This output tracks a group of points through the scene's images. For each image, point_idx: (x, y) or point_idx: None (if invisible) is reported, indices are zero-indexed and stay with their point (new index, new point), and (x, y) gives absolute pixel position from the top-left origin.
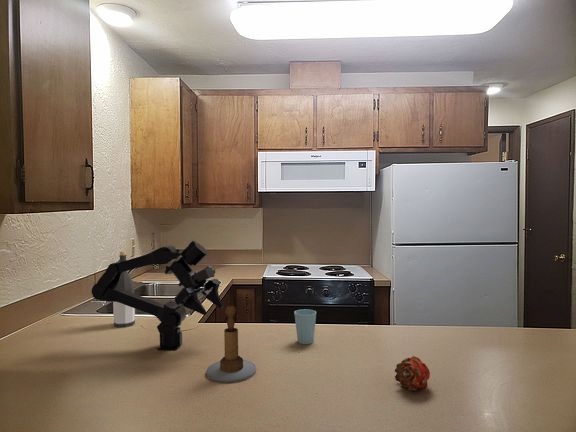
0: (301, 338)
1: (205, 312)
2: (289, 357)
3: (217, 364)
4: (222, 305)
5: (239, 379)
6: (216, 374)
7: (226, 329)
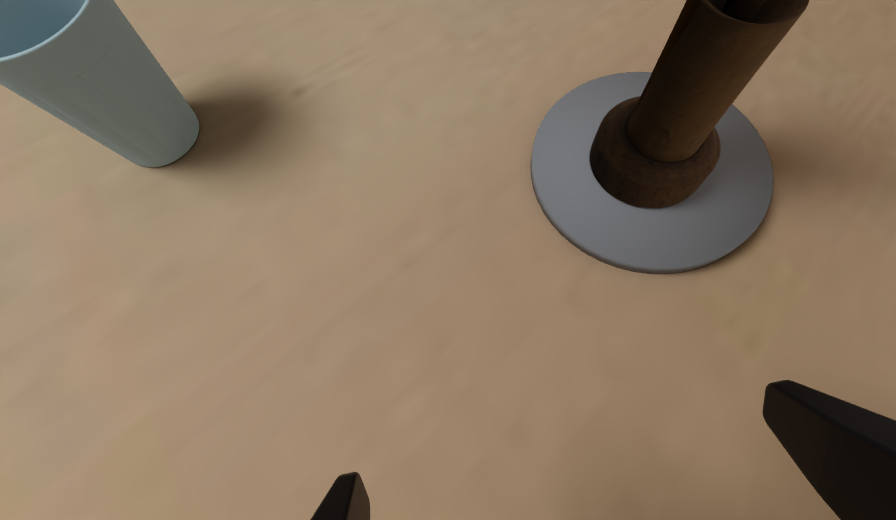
0: (183, 113)
1: (804, 387)
2: (369, 88)
3: (666, 242)
4: (335, 481)
5: None
6: (742, 166)
7: (764, 25)
